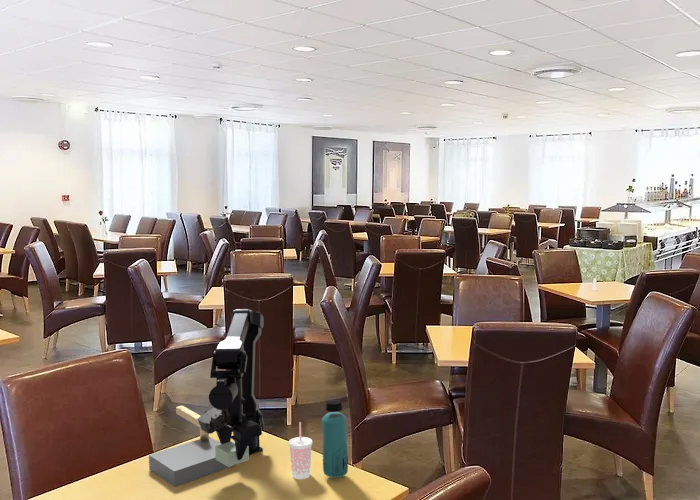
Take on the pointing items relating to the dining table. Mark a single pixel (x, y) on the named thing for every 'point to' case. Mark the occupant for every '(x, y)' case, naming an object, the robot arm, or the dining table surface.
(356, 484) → the dining table surface
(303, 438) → the beverage cup
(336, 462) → the beverage bottle
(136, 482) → the dining table surface
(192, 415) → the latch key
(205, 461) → the box
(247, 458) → the rectangular block
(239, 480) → the dining table surface
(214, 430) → the robot arm
